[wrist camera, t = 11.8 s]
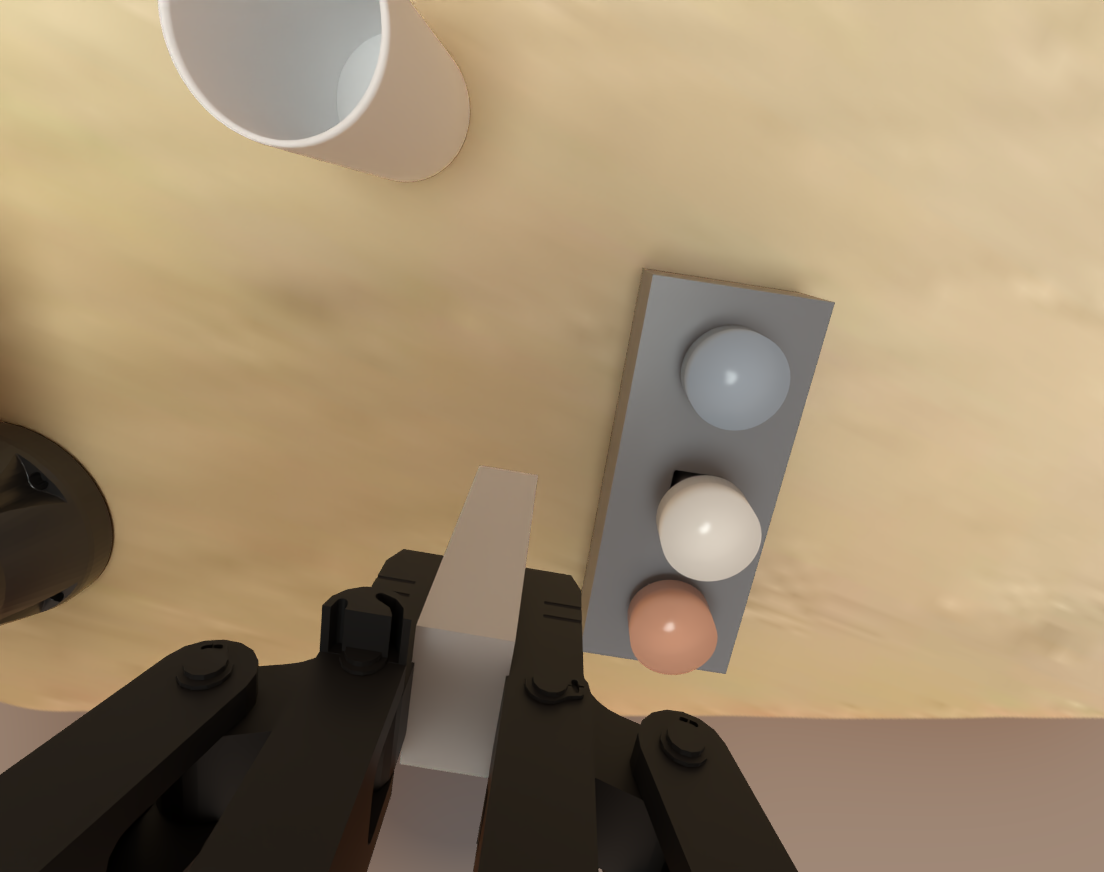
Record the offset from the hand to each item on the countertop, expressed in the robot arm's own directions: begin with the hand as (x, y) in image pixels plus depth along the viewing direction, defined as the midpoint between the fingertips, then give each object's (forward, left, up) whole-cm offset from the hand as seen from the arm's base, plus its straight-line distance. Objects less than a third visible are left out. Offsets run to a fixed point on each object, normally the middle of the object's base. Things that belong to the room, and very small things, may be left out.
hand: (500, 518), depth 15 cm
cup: (-11, +13, -26) cm, 31 cm away
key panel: (+10, -7, -26) cm, 29 cm away
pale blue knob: (+10, +1, -24) cm, 26 cm away
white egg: (+10, -7, -22) cm, 25 cm away
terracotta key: (+10, -15, -24) cm, 30 cm away
